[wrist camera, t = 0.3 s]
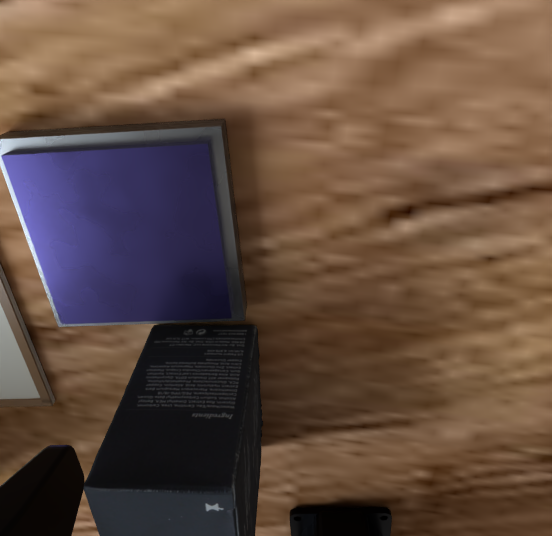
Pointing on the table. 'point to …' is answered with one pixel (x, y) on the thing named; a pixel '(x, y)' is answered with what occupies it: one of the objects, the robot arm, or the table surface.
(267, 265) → the table surface
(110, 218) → the ink pad
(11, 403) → the card
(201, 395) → the box
